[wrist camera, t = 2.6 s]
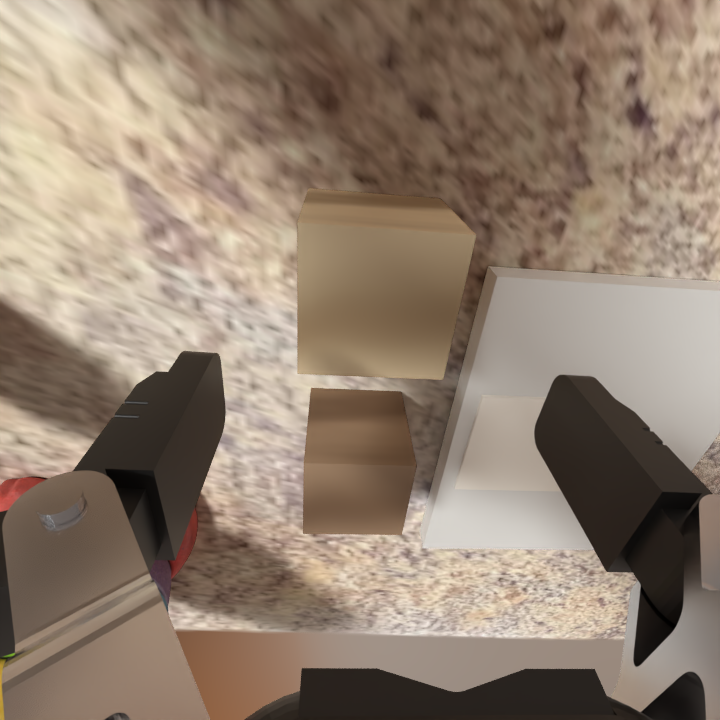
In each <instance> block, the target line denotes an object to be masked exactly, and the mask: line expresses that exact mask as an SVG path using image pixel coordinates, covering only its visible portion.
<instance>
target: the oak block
mask: <svg viewBox="0 0 720 720" xmlns="http://www.w3.org/2000/svg"><path fill="white" fill-rule="evenodd" d="M475 239H476V234H475V233H474V232H473V231H472V230H471V229H470V228H469V227H468V226H467V225H466V224H465V223H464V222H463V221H462V220H461V219H460V218H459V217H458V216H457V215H456V214H455V213H454V212H453V211H452V210H451V209H450V208H449V207H448V206H447V205H446V204H445V203H444V202H443V201H442V200H441V199H440V198H428V197H415V196H402V195H389V194H377V193H364V192H351V191H338V190H325V189H312V188H309V189H308V192H307V195H306V198H305V201H304V204H303V207H302V210H301V213H300V216H299V219H298V222H297V292H298V374H316V375H340V376H363V377H387V378H411V379H435V380H443V378H444V373H445V369H446V365H447V360H448V356H449V352H450V347H451V343H452V339H453V334H454V330H455V326H456V321H457V317H458V313H459V309H460V304H461V300H462V296H463V291H464V287H465V283H466V278H467V274H468V270H469V265H470V261H471V257H472V252H473V248H474V244H475Z"/></svg>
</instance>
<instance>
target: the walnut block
mask: <svg viewBox="0 0 720 720" xmlns="http://www.w3.org/2000/svg"><path fill="white" fill-rule="evenodd" d="M416 467H417V465H416V460H415V455H414V450H413V446H412V441H411V436H410V431H409V427H408V422H407V417H406V412H405V407H404V403H403V398H402V393H401V392H398V391H373V390H348V389H323V388H311V394H310V405H309V415H308V425H307V436H306V446H305V457H304V497H303V534H380V535H402V531H403V526H404V522H405V517H406V513H407V508H408V504H409V499H410V494H411V490H412V485H413V481H414V476H415V472H416Z"/></svg>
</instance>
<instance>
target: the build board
mask: <svg viewBox="0 0 720 720" xmlns="http://www.w3.org/2000/svg"><path fill="white" fill-rule="evenodd" d="M558 375H578V376H592V377H594V378H596V379H597V380H598V381H599V382H600V383H601V384H602V385H603V386H604V387H605V388H606V390H607V391H608V392H609V393H610V394H611V395H612V396H613V397H614V398H615V399H616V400H618V401H619V402H621V403H622V404H624V405H625V406H627V407H628V408H630V409H631V410H633V411H634V412H635V413H636V414H637V415H638V416H639V417H640V418H641V419H642V420H643V421H644V422H645V423H646V424H647V425H648V426H649V427H650V431H653V432H654V433H655V434H656V435H657V436H658V437H659V438H660V439H661V440H662V441H663V445H667V446H668V447H669V448H670V449H671V451H672V452H673V453H674V454H675V455H676V456H677V457H678V458H679V459H680V460H681V461H682V462H683V463H684V464H685V465H686V466H687V467H688V468H689V469H690V471H692V470H693V468H694V467H695V466H696V464H697V463H698V462H699V460H700V459H701V458H702V456H703V455H704V454H705V452H706V451H707V449H708V448H709V447H710V445H711V444H712V443H713V441H714V440H715V439H716V437H717V436H718V435H719V433H720V281H705V280H690V279H675V278H660V277H645V276H630V275H614V274H599V273H584V272H569V271H554V270H539V269H523V268H508V267H493V266H488V269H487V272H486V276H485V280H484V284H483V288H482V292H481V296H480V300H479V303H478V307H477V311H476V315H475V319H474V323H473V327H472V330H471V334H470V338H469V342H468V346H467V350H466V354H465V358H464V361H463V365H462V369H461V373H460V377H459V381H458V385H457V389H456V392H455V396H454V400H453V404H452V408H451V412H450V416H449V420H448V423H447V427H446V431H445V435H444V439H443V443H442V447H441V450H440V454H439V458H438V462H437V466H436V470H435V474H434V478H433V481H432V485H431V489H430V493H429V497H428V501H427V505H426V509H425V512H424V516H423V520H422V524H421V528H420V536H421V542H422V547H423V548H439V549H538V550H594V548H593V547H592V545H591V543H590V541H589V540H588V538H587V536H586V534H585V532H584V531H583V529H582V527H581V525H580V524H579V522H578V520H577V518H576V516H575V515H574V513H573V511H572V509H571V508H570V506H569V504H568V502H567V501H566V499H565V497H564V495H563V493H562V492H561V490H560V488H559V486H558V485H557V483H556V481H555V479H554V477H553V476H552V474H551V472H550V470H549V469H548V467H547V465H546V463H545V462H544V460H543V458H542V456H541V454H540V453H539V451H538V449H537V447H536V444H535V438H534V430H535V424H536V422H537V419H538V417H539V414H540V412H541V409H542V407H543V404H544V402H545V399H546V397H547V395H548V392H549V390H550V387H551V385H552V383H553V381H554V379H555V378H556V377H557V376H558Z"/></svg>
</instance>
